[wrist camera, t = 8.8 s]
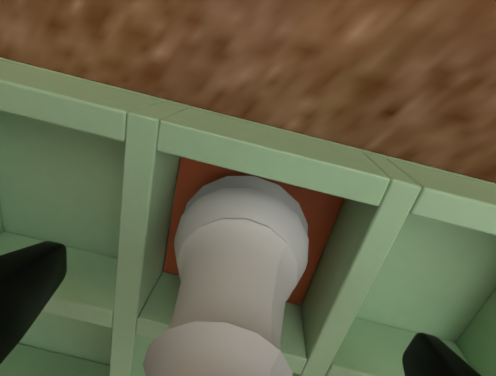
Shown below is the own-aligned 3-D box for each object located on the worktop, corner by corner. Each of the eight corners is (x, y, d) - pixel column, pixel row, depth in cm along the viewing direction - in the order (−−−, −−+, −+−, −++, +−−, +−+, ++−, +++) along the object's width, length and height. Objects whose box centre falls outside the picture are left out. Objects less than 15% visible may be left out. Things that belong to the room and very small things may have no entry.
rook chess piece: (259, 143, 9) (201, 434, 2) (331, 243, 10) (470, 666, 3) (159, 212, 11) (-109, 547, 3) (232, 294, 12) (162, 679, 4)
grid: (11, 341, 15) (-48, 402, 12) (-25, 50, 10) (-146, 42, 7) (393, 433, 15) (420, 514, 12) (567, 201, 10) (682, 252, 7)
